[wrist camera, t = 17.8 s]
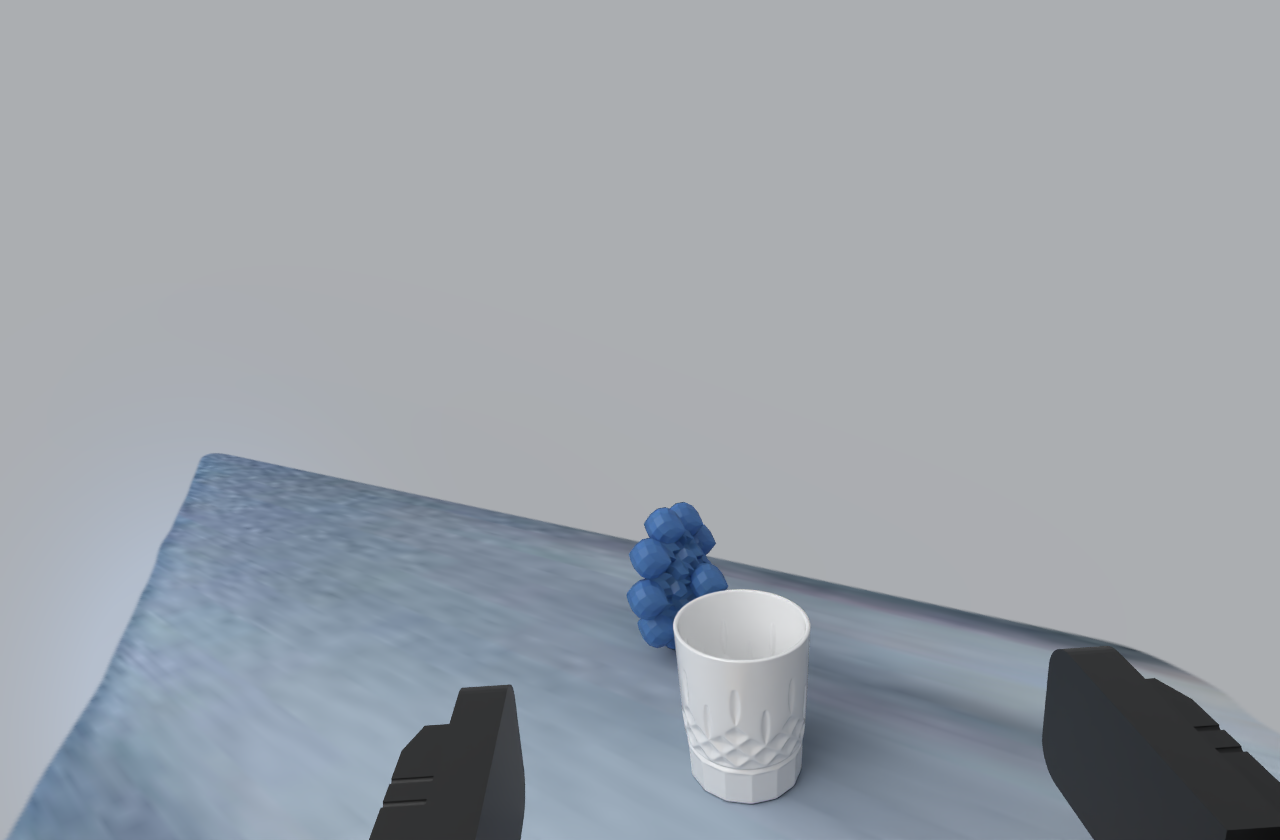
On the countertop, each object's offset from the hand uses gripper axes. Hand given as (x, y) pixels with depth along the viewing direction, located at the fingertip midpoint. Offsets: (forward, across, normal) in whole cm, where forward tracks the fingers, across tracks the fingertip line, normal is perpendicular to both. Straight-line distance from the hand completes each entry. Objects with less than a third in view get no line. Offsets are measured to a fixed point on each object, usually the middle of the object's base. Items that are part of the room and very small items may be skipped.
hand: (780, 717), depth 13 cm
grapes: (+46, -1, +28) cm, 54 cm away
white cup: (+32, -3, +28) cm, 43 cm away
